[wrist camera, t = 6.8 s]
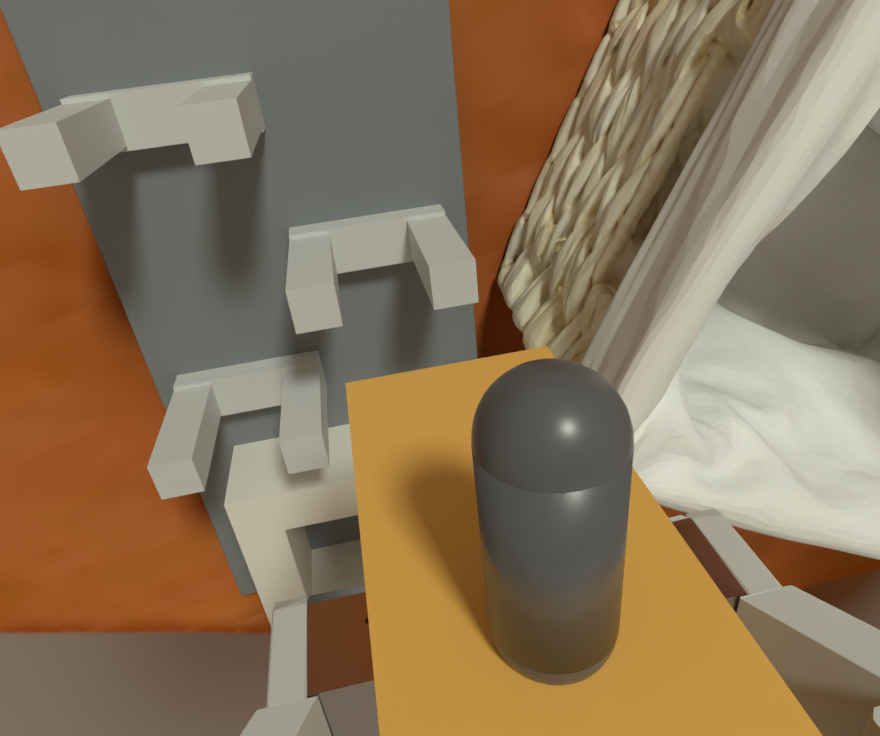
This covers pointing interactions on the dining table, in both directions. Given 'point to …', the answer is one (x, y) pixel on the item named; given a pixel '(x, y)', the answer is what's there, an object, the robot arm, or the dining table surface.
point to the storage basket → (724, 256)
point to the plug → (537, 567)
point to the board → (261, 236)
